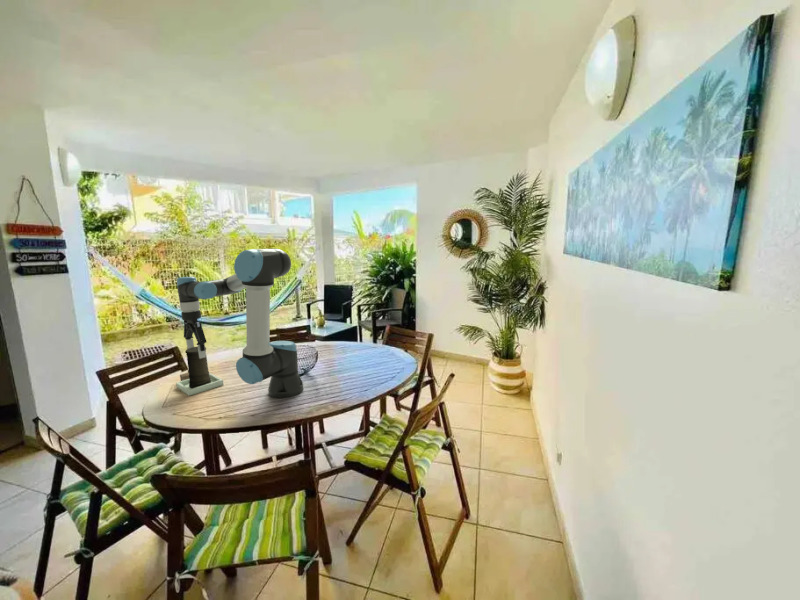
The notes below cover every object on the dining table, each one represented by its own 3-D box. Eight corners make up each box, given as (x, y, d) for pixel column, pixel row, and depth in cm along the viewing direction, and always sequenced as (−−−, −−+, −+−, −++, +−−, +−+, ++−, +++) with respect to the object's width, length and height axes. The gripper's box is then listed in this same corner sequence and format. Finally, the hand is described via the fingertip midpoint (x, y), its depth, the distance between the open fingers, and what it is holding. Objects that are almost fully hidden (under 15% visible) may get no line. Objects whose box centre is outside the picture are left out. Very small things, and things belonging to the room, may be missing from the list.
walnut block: (192, 381, 165) (191, 374, 165) (183, 384, 162) (182, 376, 162) (190, 379, 168) (188, 372, 167) (180, 382, 165) (179, 374, 164)
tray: (223, 384, 161) (223, 379, 160) (188, 396, 149) (188, 390, 149) (210, 377, 170) (209, 372, 170) (176, 387, 159) (176, 382, 158)
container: (215, 381, 164) (211, 345, 160) (202, 389, 155) (198, 352, 152) (198, 380, 164) (193, 345, 161) (184, 388, 156) (179, 351, 152)
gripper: (210, 311, 148) (216, 357, 152) (189, 306, 164) (195, 348, 167) (192, 314, 143) (198, 362, 146) (171, 309, 158) (178, 352, 162)
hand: (197, 355), depth 157 cm, fingers open, 13 cm apart
